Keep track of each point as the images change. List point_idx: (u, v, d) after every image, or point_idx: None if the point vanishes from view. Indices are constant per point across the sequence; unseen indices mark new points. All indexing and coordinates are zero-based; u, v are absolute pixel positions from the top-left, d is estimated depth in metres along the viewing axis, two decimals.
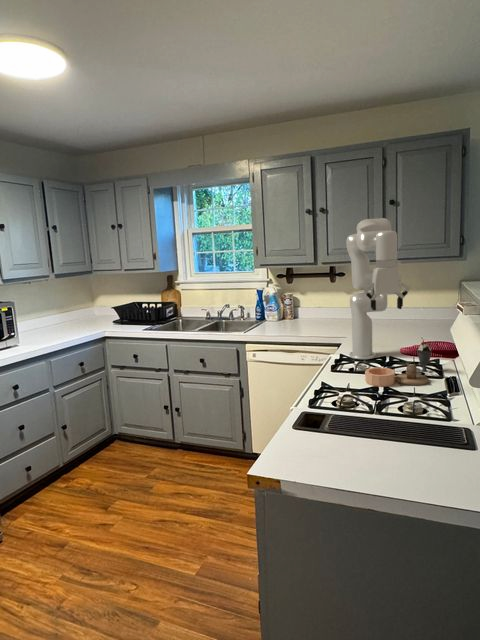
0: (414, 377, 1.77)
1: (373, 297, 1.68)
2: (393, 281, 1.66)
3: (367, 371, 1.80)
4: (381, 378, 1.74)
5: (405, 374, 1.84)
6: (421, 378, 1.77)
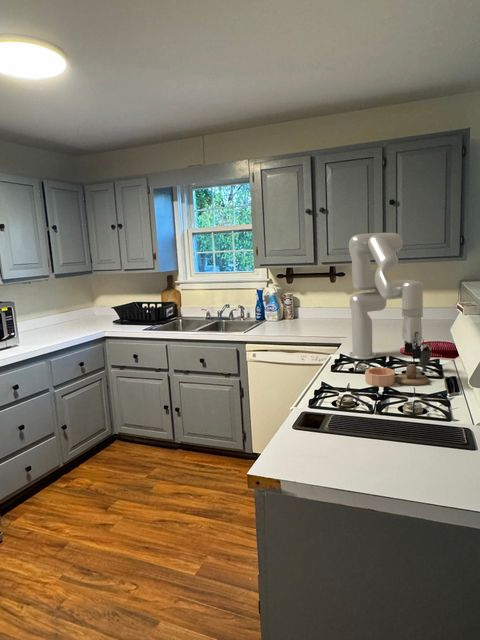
0: (414, 377, 1.77)
1: None
2: None
3: (367, 371, 1.80)
4: (381, 378, 1.74)
5: (404, 374, 1.84)
6: (421, 378, 1.77)
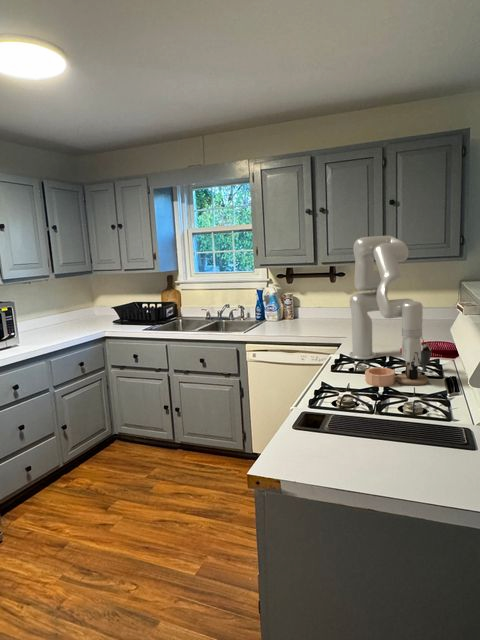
0: None
1: None
2: None
3: (367, 371, 1.80)
4: (381, 378, 1.74)
5: (404, 374, 1.84)
6: (421, 378, 1.77)
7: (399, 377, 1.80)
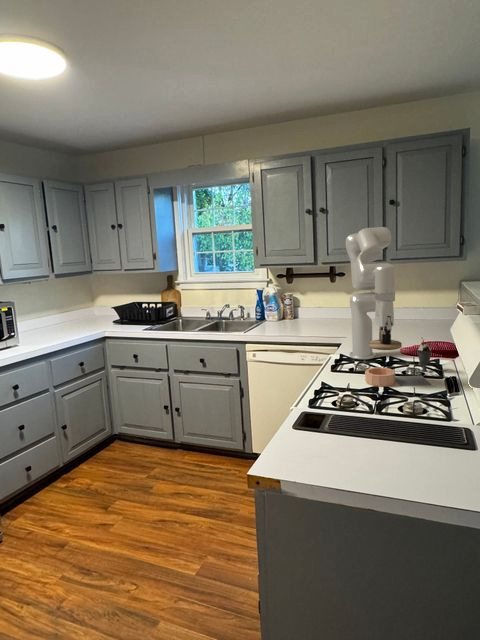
0: None
1: (390, 331, 1.73)
2: None
3: (367, 371, 1.80)
4: (381, 378, 1.74)
5: (378, 340, 1.82)
6: (394, 343, 1.75)
7: (373, 343, 1.78)
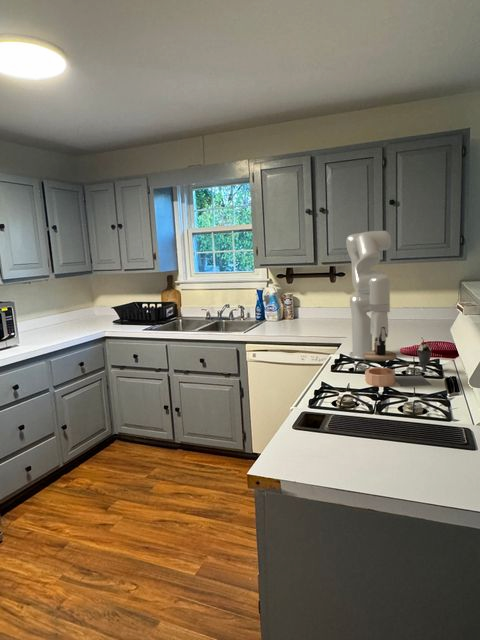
0: None
1: (385, 342, 1.74)
2: None
3: (367, 371, 1.80)
4: (381, 378, 1.74)
5: (374, 351, 1.83)
6: (389, 354, 1.76)
7: (368, 353, 1.79)
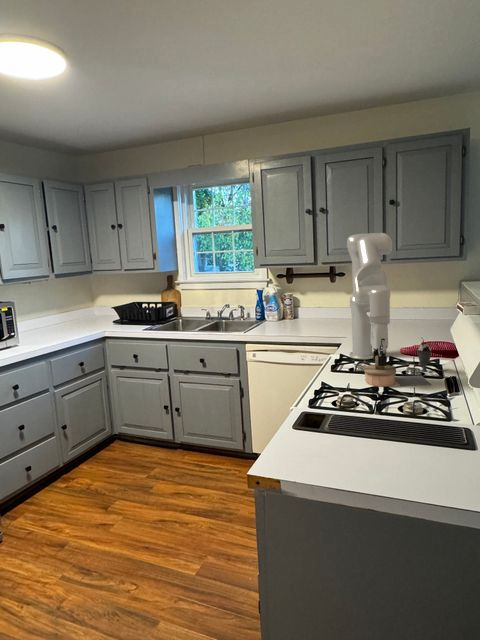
0: (382, 367, 1.77)
1: None
2: None
3: None
4: (381, 378, 1.74)
5: (374, 365, 1.84)
6: (389, 369, 1.77)
7: (368, 368, 1.80)
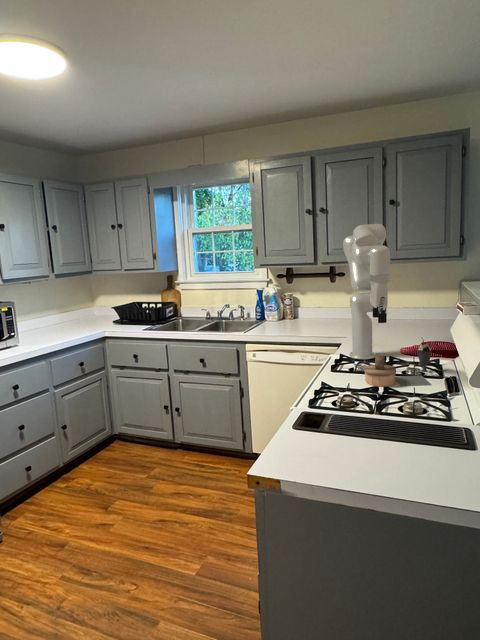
0: (382, 367, 1.77)
1: None
2: None
3: None
4: (381, 378, 1.74)
5: (374, 365, 1.84)
6: (389, 369, 1.77)
7: (368, 368, 1.80)
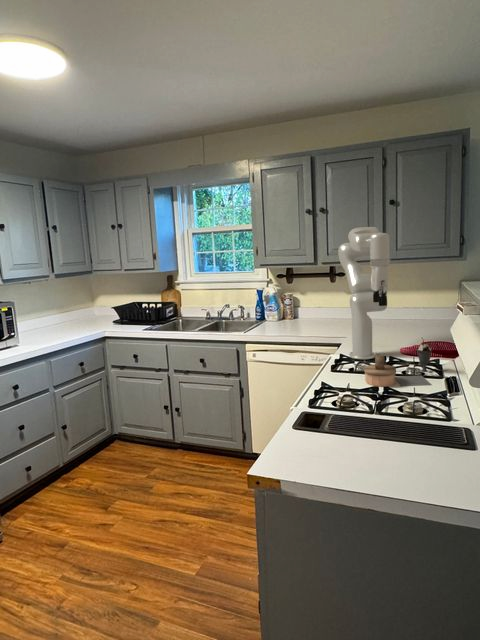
0: (382, 367, 1.77)
1: None
2: None
3: None
4: (381, 378, 1.74)
5: (374, 365, 1.84)
6: (389, 369, 1.77)
7: (368, 368, 1.80)
